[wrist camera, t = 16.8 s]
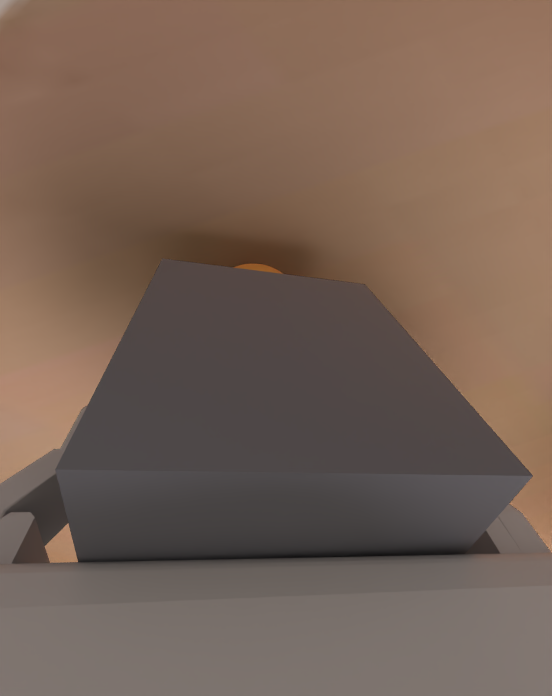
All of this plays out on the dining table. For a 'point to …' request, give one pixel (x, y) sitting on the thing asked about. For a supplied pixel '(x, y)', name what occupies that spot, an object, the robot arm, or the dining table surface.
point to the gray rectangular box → (276, 430)
